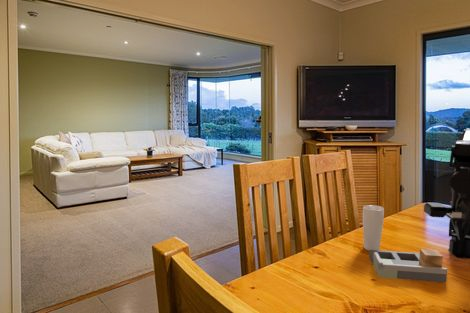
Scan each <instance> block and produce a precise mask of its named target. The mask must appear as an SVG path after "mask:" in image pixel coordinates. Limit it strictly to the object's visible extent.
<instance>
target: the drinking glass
mask: <svg viewBox="0 0 470 313" xmlns="http://www.w3.org/2000/svg"><path fill="white" fill-rule="evenodd" d="M384 215H385V208H384V207H383V206H380V205H374V204H373V205H372V204H366V205H364V206H363V208H362V229H363V230H362V232H363V234H362V236H363V248H364V250H367V251H368V252H369V250H380V248H381V240H382V232H383V226H384V218H385V216H384Z"/></svg>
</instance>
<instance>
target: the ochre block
mask: <svg viewBox="0 0 470 313" xmlns="http://www.w3.org/2000/svg"><path fill="white" fill-rule="evenodd" d="M419 253H420V257H419V264H420V265H421V266H427V267H440V268H443V255H442V254H441V253H440V252H439V251H438V249H430V248H427V249H426V248H419Z"/></svg>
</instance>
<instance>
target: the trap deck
mask: <svg viewBox="0 0 470 313" xmlns="http://www.w3.org/2000/svg"><path fill="white" fill-rule="evenodd" d="M419 257H420V252H410V251H407V252H406V251H393V250H380V249H379V250H369V251H368V258H369V260H370V262H371V264H372V266H373V268H374V270H376V271H375V272H376V274H377V277H378V278H383V277H384V278H385V279H395V278H396V280H397V279H398V280H408V279H409V280H411V281H420V280H421V281H422V282H435V283H436V282H437V283H445V282H446V283H447V279H448V277H447V276H448V268H447V267H442V268H440V267H427V266H421V265H420V264H419ZM409 280H408V281H409Z"/></svg>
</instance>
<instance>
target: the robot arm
mask: <svg viewBox="0 0 470 313" xmlns="http://www.w3.org/2000/svg"><path fill="white" fill-rule="evenodd" d="M448 167H449V168H455V169H454V170H453V171H454V172H453V175H452V176H451V178H450V181H449V184H450V192H451V194H452V196H451V201H449V205H450V206H445V205H443V204H442V203H440V202H426V203H425V204H424V205H423V212H424V213H426V215H428V216H429V217H431V218H445V217H447V218H448V219H449V224H448V237H451V238H450V239H449V244H448V245H449V247H448V249H447V250H448V251H449V252H450V254H451V255H453V256H454V258H456V259H466V260H467V259H470V128H466V129H463V133H462V134H461V135H459V136H458V137H457V140H456V141H455V142H454V145H452V147H451V152H450V159H449V166H448Z"/></svg>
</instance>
